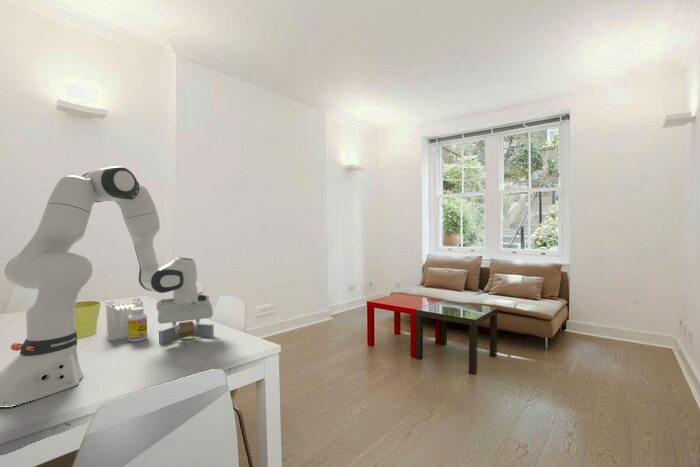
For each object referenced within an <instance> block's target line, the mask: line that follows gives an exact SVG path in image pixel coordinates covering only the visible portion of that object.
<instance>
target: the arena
mask: <svg viewBox="0 0 700 467" xmlns="http://www.w3.org/2000/svg"><path fill="white" fill-rule="evenodd" d="M195 324H196V322H193V325H195ZM176 326H177V327H179V323H176ZM214 328H215V325H214V324H213V323H205V322H204V323H203V322H202V323H201V322H199V324H198V325H197V330H194V331H193V333H194V336H189V337H182V338H180V335H179V333H176V330H175V328H174V326H173V325H172V326H168V327H166V328H163V329H161V330H158V344H161V345H163V344H166V343H168V342H171V343H175V344H184V345H188V344H191V343H193V342H195V341H198V340H200V339H202V338H203V337H204V338H213V337H214V336H215V331H214Z"/></svg>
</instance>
